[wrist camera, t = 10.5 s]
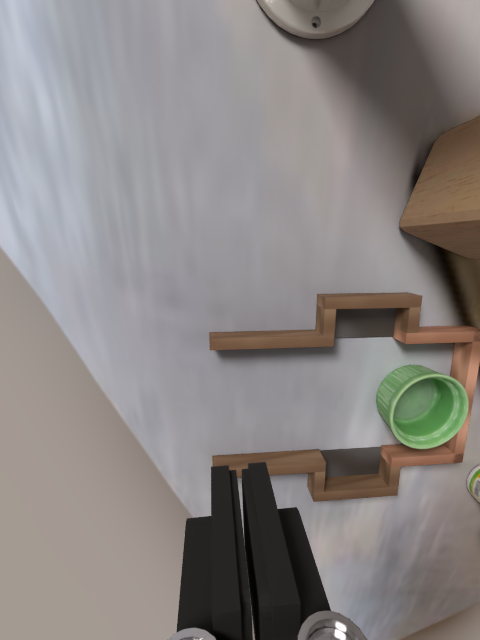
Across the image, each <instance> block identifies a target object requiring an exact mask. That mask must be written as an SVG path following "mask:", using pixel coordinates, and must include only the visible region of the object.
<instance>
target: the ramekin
mask: <svg viewBox="0 0 480 640" xmlns="http://www.w3.org/2000/svg"><path fill="white" fill-rule="evenodd" d="M376 403H377V408H378V411H379V413H380V415H381V416H382V418H383V419H384V420H385V422H386V423H387V424H388V425H389V427H390V429H391V431H392V432H393V434H394V435H395V437H396V438H397V439H398V440H399V441H400V442H401V443H403V444H404V445H406V446H408V447H411V448H416V449H429V448H434V447H437V446H439V445H441V444H443V443H445V442H447V441H449V440H450V439H451V438H452V437H453V436H455V435H456V433H457V432H458V431H459V430H460V429H461V427H462V426H463V424H464V422H465V420H466V417H467V414H468V408H469V402H468V396H467V393H466V391H465V389H464V387H463V386H462V385H461V383H460V382H458V381H457V380H456V379H454V378H452V377H450V376H448V375H445V374H441V373H437V372H435V371H433V370H431V369H428V368H426V367H423V366H420V365H407V366H403V367H400V368H398V369H396V370H394V371H393V372H391V373H390V374H389V375H388V376H387V377H386V378H385V379H384V380H383V381H382V383H381V385H380V387H379V389H378V392H377V397H376Z"/></svg>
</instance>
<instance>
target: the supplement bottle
mask: <svg viewBox="0 0 480 640" xmlns="http://www.w3.org/2000/svg"><path fill="white" fill-rule="evenodd" d="M467 488H468V490H469V492H470V493H471V494H472V495H473V496H474V497H475V498H476V499H477V500H478V501H479V502H480V465H478V466H477V467H476V468H474V469H473V470H472V472H471V473H470V474H469V476H468V479H467Z"/></svg>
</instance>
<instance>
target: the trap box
mask: <svg viewBox="0 0 480 640" xmlns="http://www.w3.org/2000/svg"><path fill="white" fill-rule="evenodd" d="M421 302H422V296H420V295H416V294H412V293H354V294H317V312H316V330H283V331H246V332H209V333H210V350H235V349H266V348H298V347H330V346H334V338H349V337H384V336H393V338H395V339H397V340H399V341H401V342H403V343H405V344H424V343H455V347H454V354H453V360H452V367H451V373H450V377H452V378H454V379H456V380H457V381H458V382H460V383H461V385H462V386H463V387H464V389H465V391H466V393H467V396H468V402H469V408H468V414H467V417H466V420H465V422H464V424H463V426H462V427H461V429H460V430H459V431H458V432H457V433H456V435H455V436H453V437H452V438H451V439H450V440H449V441H447V442H445V443H443V444H441V445H439V446H437V447H434V448H429V449H416V448H411V447H408V446H406V445H404V444H397V445H381V447H371V448H355V449H339V450H323V451H319V449H316V450H299V451H283V452H267V453H250V454H234V455H218V456H212V457H213V467H214V466H224V465H229V470H236V473H237V478H239V477H242V469H248V463H257V462H266V465H267V469H268V473H269V475H283V474H298V473H308V484H307V487H308V489H309V492H310V494H311V496H312V499H313V501H314V502H315V501H328V500H341V499H355V498H368V497H381V496H394V495H397V493H398V485H399V477H400V469H401V466H416V465H430V464H445V463H460V462H462V460H463V455H464V449H465V443H466V438H467V432H468V426H469V420H470V415H471V409H472V403H473V397H474V392H475V386H476V380H477V374H478V369H479V363H480V329H477V328H474V327H470V326H433V327H418V326H419V318H420V310H421Z"/></svg>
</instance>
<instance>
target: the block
mask: <svg viewBox="0 0 480 640" xmlns="http://www.w3.org/2000/svg"><path fill="white" fill-rule="evenodd" d="M399 227H400V228H401V229H402V230H403V231H405V232H406V233H409V234H411V235H413V236H416V237H418V238H420V239H423V240H425V241H427V242H430V243H432V244H434V245H437V246H439V247H442V248H444V249H446V250H449V251H451V252H453V253H456V254H458V255H460V256H463V257H465V258H468V259H480V116H478V117H476V118H474V119H472V120H470V121H468V122H466V123H463V124H461V125H459V126H457V127H455V128H453V129H451V130H449V131H447V132H445V133H442V134H441V135H440V136H439V138H438V139H437V140H436V141H435V143H434V144H433V147H432V149H431V151H430V153H429V156H428V158H427V160H426V163H425V165H424V167H423V169H422V172H421V174H420V176H419V178H418V181H417V183H416V185H415V187H414V190H413V192H412V194H411V196H410V199H409V201H408V203H407V205H406V208H405V210H404V212H403V215H402V217H401V219H400V223H399Z"/></svg>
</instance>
